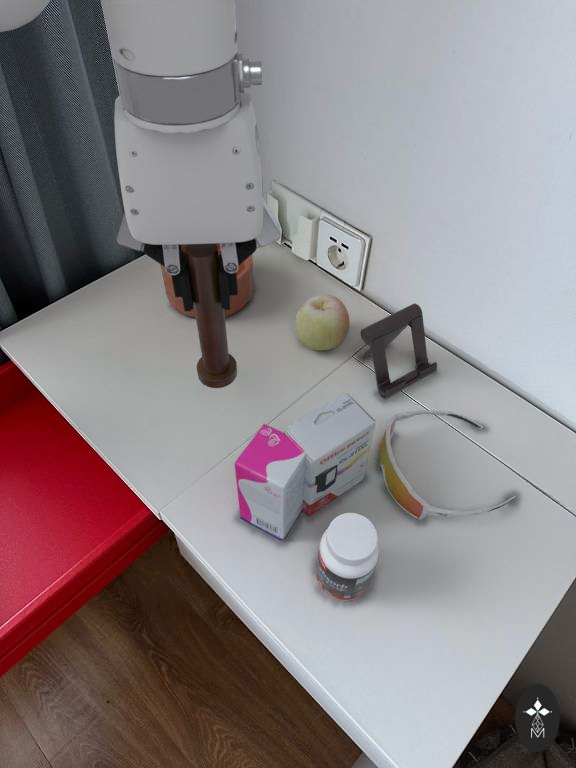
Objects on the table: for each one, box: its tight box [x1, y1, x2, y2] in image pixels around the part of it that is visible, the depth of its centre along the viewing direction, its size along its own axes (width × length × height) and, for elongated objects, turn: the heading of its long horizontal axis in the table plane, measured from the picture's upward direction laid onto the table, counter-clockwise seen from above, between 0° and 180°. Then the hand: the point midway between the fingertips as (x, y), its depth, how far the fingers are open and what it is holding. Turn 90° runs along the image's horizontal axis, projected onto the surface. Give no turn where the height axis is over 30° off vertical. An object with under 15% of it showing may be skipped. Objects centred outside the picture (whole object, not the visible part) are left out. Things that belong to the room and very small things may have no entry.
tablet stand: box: [359, 302, 438, 400], centre depth 75 cm, size 9×8×8 cm
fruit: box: [294, 294, 350, 351], centre depth 79 cm, size 8×7×8 cm
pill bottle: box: [315, 512, 380, 602], centre depth 56 cm, size 6×6×10 cm
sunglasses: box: [379, 409, 516, 521], centre depth 67 cm, size 14×15×5 cm
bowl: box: [159, 243, 255, 319], centre depth 85 cm, size 13×13×6 cm
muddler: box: [185, 243, 238, 389], centre depth 52 cm, size 4×4×16 cm
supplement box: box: [233, 423, 306, 542], centre depth 60 cm, size 6×6×12 cm
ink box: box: [284, 393, 377, 517], centre depth 63 cm, size 9×5×12 cm, turn 126°
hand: (207, 298), depth 50 cm, fingers closed on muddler, 2 cm apart
